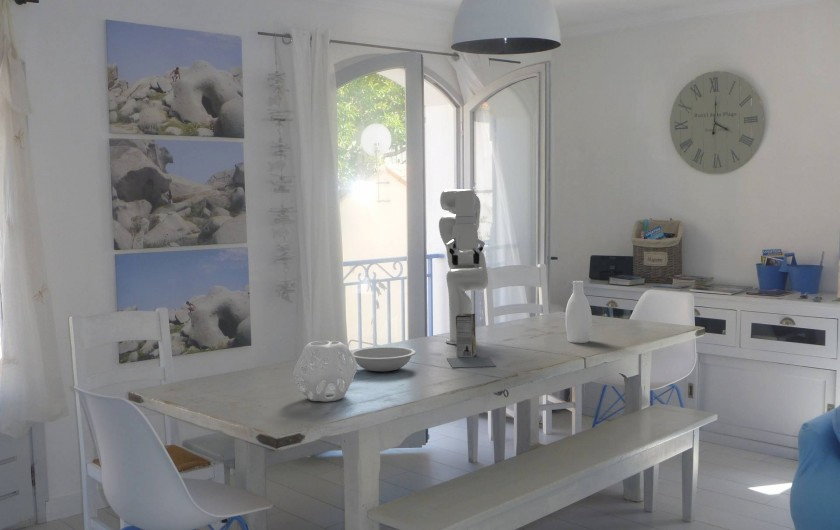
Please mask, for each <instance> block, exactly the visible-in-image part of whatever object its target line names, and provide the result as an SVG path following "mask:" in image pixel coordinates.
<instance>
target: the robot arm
mask: <svg viewBox="0 0 840 530" xmlns="http://www.w3.org/2000/svg"><path fill="white" fill-rule="evenodd" d="M439 203H440V207H441V209H442V210H443V211H448V212H449V213H450V214H446V215H443V216H441V217H440V219H439V221H438V229H439V234H440V238H441V240H442V242H443V244H444V246H445V248H446V256H447V263H448V264H447V265H448V268H449V271H447V273H446V284H447V290H448V291H447V292H448V308H449V309H448V313H449V338H447V339H446V340H445V343H446V344H450V345H457V343H456V316H457V315H459V314H473V312H472V300H471V297H470V296H469V295H468V294H467V293H466V292H467V291H483V290H485V289H486V288H487V287H488V284H489V276H488V269H487V263H486V257H485V254H484V252H483V249H484V247H485V244H486V242H485V241H482V240H481V239H479V234H478V230H479V227H480V217H481V200H480V198H479V196H478V195H477V194H476V192H475V191H474V190H473V189H471V188H470V189H469V188H468V189H465V188H464V189H445V190H443V191H442V192H441V194H440V199H439Z"/></svg>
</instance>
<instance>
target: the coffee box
mask: <svg viewBox="0 0 840 530" xmlns="http://www.w3.org/2000/svg"><path fill="white" fill-rule="evenodd" d="M476 342H477V340H476V313H472V314H459V315H457V316H456V343H457V344H456V358H472V357H475V356H476V354H477V345H476Z"/></svg>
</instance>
